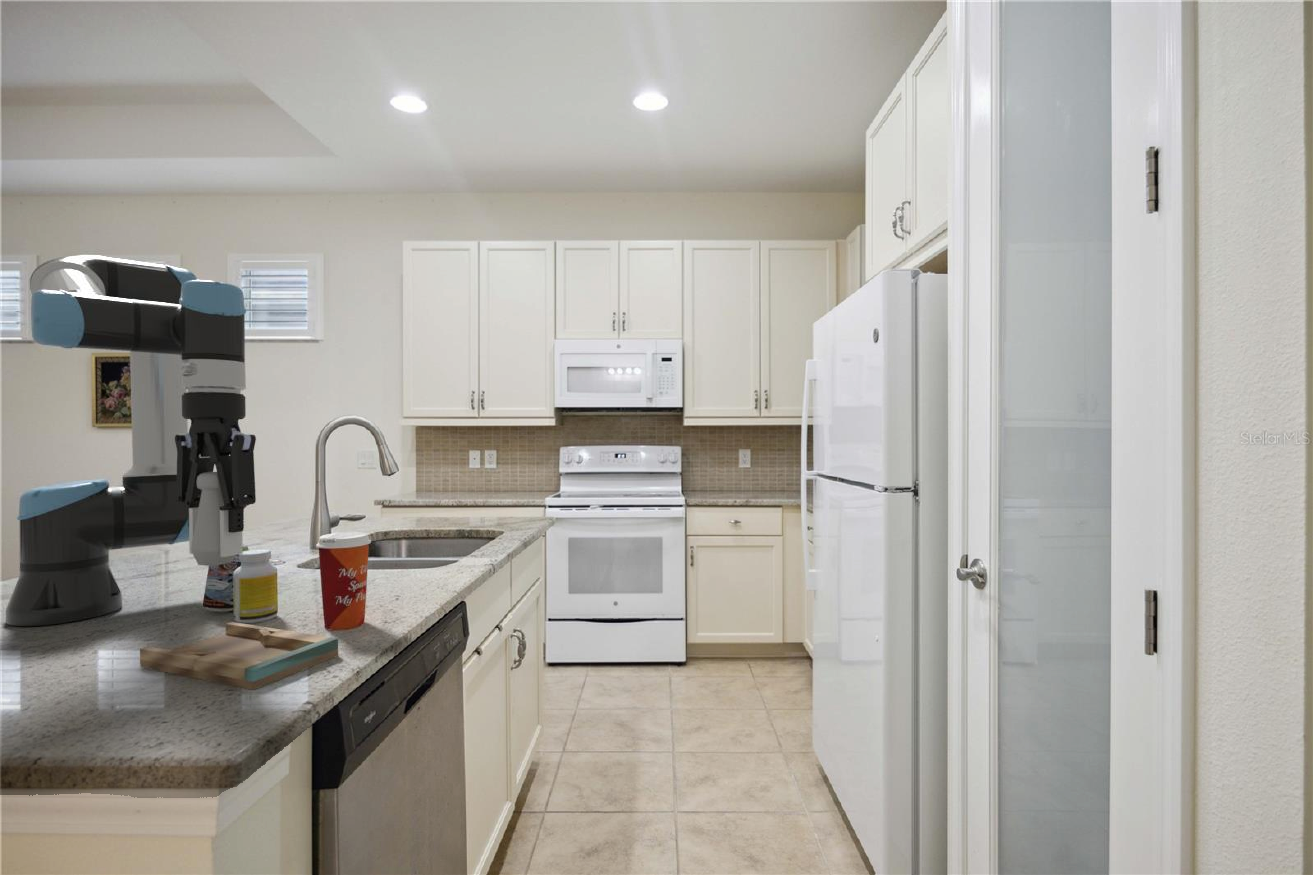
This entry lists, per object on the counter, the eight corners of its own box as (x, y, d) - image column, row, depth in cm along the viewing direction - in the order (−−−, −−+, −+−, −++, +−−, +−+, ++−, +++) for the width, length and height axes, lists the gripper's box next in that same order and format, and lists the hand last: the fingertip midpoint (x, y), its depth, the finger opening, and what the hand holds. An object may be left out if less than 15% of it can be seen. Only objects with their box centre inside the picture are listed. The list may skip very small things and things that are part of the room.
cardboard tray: (140, 666, 89) (139, 648, 89) (232, 637, 101) (232, 622, 101) (253, 689, 81) (252, 670, 81) (338, 655, 93) (338, 638, 93)
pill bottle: (282, 619, 111) (281, 551, 111) (238, 627, 106) (237, 557, 106) (272, 611, 115) (271, 546, 115) (229, 618, 111) (228, 551, 111)
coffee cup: (350, 634, 103) (349, 540, 102) (305, 630, 104) (304, 538, 104) (382, 618, 111) (381, 531, 111) (340, 616, 112) (339, 530, 112)
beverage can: (194, 613, 114) (193, 546, 114) (235, 603, 121) (234, 539, 121) (218, 617, 112) (217, 548, 112) (258, 606, 119) (257, 541, 118)
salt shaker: (207, 558, 95) (206, 470, 95) (248, 558, 96) (247, 470, 95) (181, 567, 89) (180, 473, 89) (225, 566, 90) (224, 473, 90)
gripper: (143, 391, 92) (145, 553, 92) (234, 388, 85) (236, 563, 85) (196, 394, 99) (198, 544, 99) (285, 391, 92) (286, 553, 92)
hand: (216, 553), depth 92 cm, fingers closed on salt shaker, 6 cm apart
